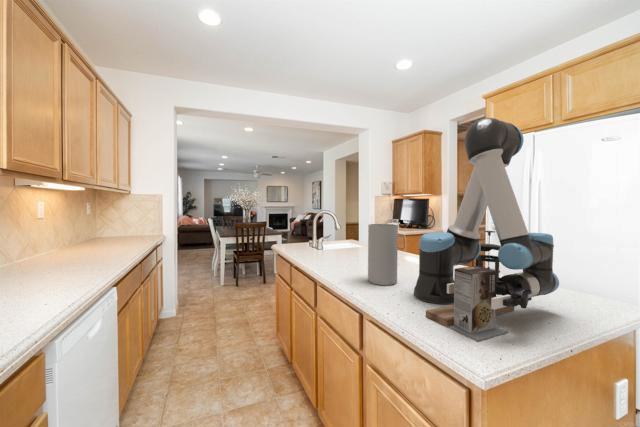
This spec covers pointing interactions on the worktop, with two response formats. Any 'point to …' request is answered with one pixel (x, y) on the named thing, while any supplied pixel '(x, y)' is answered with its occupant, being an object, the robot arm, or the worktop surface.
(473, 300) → the coffee box
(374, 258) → the cylinder vase
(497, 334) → the end pad
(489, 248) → the french press
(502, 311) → the walnut board
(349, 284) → the worktop surface
